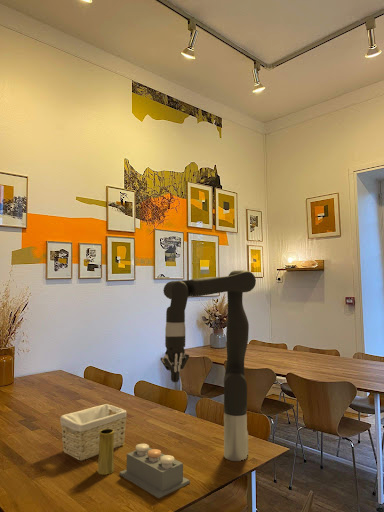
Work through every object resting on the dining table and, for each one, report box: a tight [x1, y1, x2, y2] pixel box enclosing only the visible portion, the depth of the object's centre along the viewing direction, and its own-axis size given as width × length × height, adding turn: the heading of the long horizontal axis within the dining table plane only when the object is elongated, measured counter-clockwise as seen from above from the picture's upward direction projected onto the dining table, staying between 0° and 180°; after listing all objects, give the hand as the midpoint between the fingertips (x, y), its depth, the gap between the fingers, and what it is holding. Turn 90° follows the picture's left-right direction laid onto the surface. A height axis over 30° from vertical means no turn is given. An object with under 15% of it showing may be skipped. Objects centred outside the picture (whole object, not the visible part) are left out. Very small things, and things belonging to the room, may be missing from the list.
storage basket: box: [59, 403, 127, 462], centre depth 160 cm, size 24×16×15 cm
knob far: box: [135, 443, 150, 456], centre depth 139 cm, size 5×5×8 cm
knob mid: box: [148, 448, 162, 462], centre depth 134 cm, size 5×5×8 cm
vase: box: [97, 429, 115, 476], centre depth 140 cm, size 6×6×14 cm
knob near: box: [160, 454, 175, 469], centre depth 129 cm, size 5×5×8 cm
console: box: [119, 446, 191, 499], centre depth 134 cm, size 14×22×7 cm, turn 45°
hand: (175, 381), depth 140 cm, fingers closed
